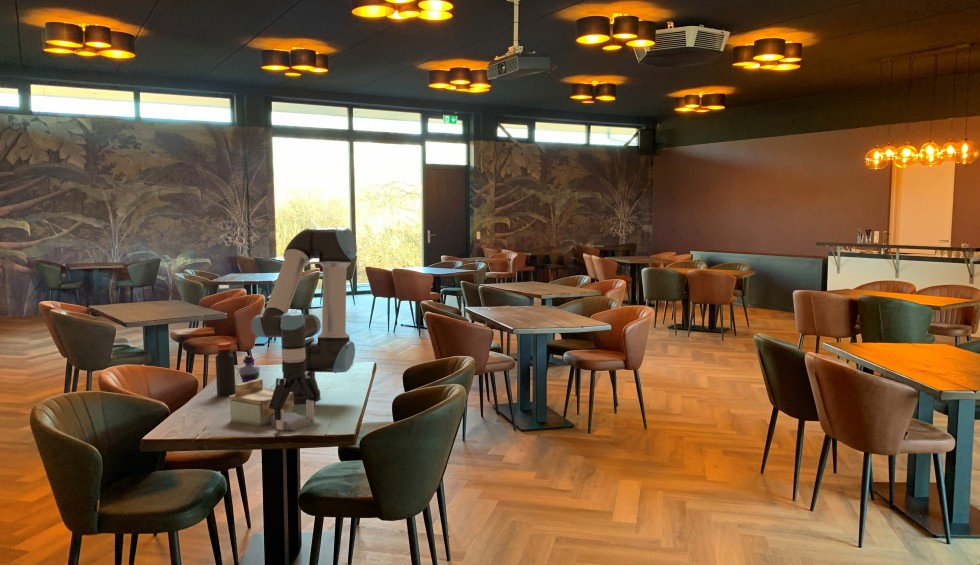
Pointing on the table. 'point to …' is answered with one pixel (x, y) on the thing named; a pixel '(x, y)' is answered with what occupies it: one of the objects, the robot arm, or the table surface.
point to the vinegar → (225, 370)
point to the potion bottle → (249, 370)
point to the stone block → (292, 421)
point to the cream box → (249, 413)
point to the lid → (259, 396)
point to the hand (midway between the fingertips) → (295, 424)
